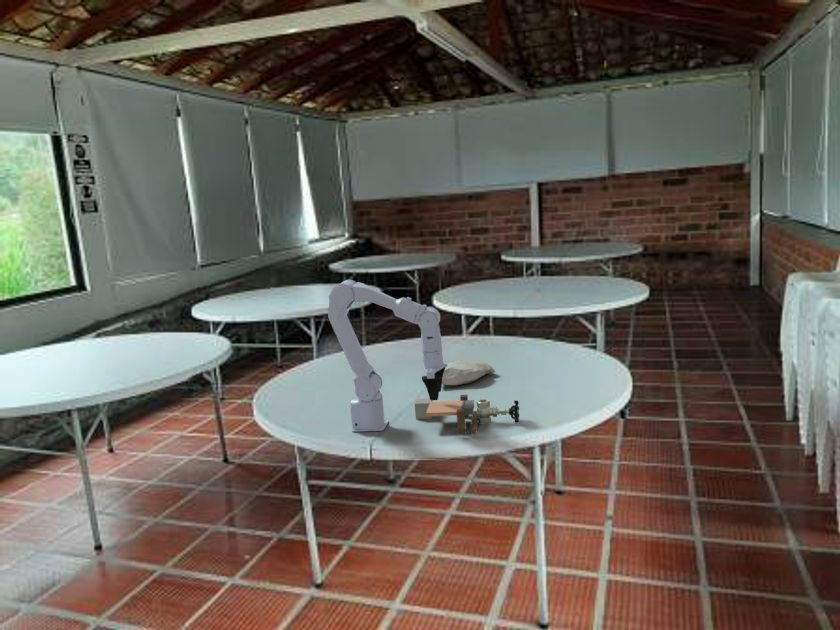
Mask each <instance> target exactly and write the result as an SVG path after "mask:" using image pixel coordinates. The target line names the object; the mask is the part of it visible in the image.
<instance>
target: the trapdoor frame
mask: <svg viewBox="0 0 840 630" xmlns="http://www.w3.org/2000/svg"><path fill="white" fill-rule="evenodd" d="M459 397H460V398H459V399H460V400H459V401H463V400H465V401H466V400H468V398H469V397H468V394H460V395H459ZM469 417H470V415H465V413H464V409H457V415H456V422H457V433H458V434H459V435H461V434H464V435H465V434H466V432H467V431H466V430H467V429H466V418H469ZM478 424H479V423H478V415H477V410H473V415H471V422H470V427H469V428H470V429H469V431H470V434H476V433H477V429H478Z"/></svg>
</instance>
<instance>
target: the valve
mask: <svg viewBox="0 0 840 630" xmlns="http://www.w3.org/2000/svg"><path fill="white" fill-rule="evenodd" d="M513 403H514V405H512V406H511V407H509V408H508V409H506V408H498V407H497V406H492V407H491V401H490V400H489V399H486V398H482V399H479V400H478V399H477V400H476V407H477V409H476V411H477V415H478V424H479V425H489V424H491V423H492V417H493V418H498V416H499V415H501V416H506V415H507V414H508V415H509V416H510V418H511V419H513V420H514V423H516V424H517V423H520V412H519V411H520V406H519V405H520V404H519V400H513Z"/></svg>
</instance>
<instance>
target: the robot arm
mask: <svg viewBox="0 0 840 630" xmlns="http://www.w3.org/2000/svg"><path fill="white" fill-rule="evenodd" d="M365 301H367V302H370V303H373V304H376V305H378V306H381V307H384V308H387V309H389V310H392V313H393V314H394V316H395V317H397V318H400V319H403V320H404V321H407V322H409V323H411V324H415V325H418V327H419V328H420V333H421V335H420V342H421V355H422V364H423V365H422V369H423V370H424V371H425V372H426V375H422V376H421V380H422V382H423V383H424V385H425V388H426V391H427V393H428V397H429V398H430V400H432V401H439V395H440V393H441V391H442V385H443V384H442V377H443V373H444V370H445V368H446V367H447V363H444V358H443V347H442V335H441V328H440V324H439V323H440V321H441V313H440V312H439V310H438V309H436V308H435V307H433V306H427V304H424V303H423V304H420V303H419V302H415V301H413V300H412V297H409V296H407V297H404V296H403V297H400V298H398V299H397V298H395V297H393V296H391V295H388V294H386V293H384V292H382V291H379V290H377V289H375V288H373V287H371V286H369V285H367V284H365V283H363V282H359V281H357V282H356V280H353V279H346V280H343V281H342V282H341V283H338V284H336V285H335V286H333V287H332V289H331V291H330V293H329V295H328V309H327V310H328V311H327V316H328V320H329V322H330V325H331V327H332V330H333V332H334V334H335V336H336V338H337V340H338V343H339V345H340V346H341V349H342V350H343V353H344V355H345V357H346V359H347V361H348V365H349V367H350V370H352V371H351V372H352V381H353V383H354V389H355V391H354V392H355V395H356V397H357V398H353V399H351V401H350V416H351V427H352V428H351V429H352V430H351V432H355V433H356V432H381V431H384V430H385V429H386V427H387V425H388V423H389V420H388V419H385V412H384V409H385V408H384V400H383V393H381V389H382V386H383V380H382V379H383V378H382V377H381V375H380V374H378V373H377V372H376V371H375V369H374V367H373V366H372V365H371V364H370V363H369V362H368V359H367V357H366V355H365V353H364V351H363V348H362V346H361V344H360V342H359V339H358V337H357V335H356V333H355V330H354V328H353V326H352V323H351V321H350V319H349V316H348V313H349V310H350V309H351V306H352V305H353V303H355V304H356V303H360V302H365Z"/></svg>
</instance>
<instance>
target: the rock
mask: <svg viewBox="0 0 840 630" xmlns="http://www.w3.org/2000/svg"><path fill="white" fill-rule="evenodd" d="M446 364H447V367H446V368H445V370H444V373H443V377H442V385H446V386H459V385H463V384H464V385H467V384H470V383H472V382H474V381H476V380H479V379H480V378H481V377H483V376H485V375H486V374H494V373H496V370H495V368H494V367H493V366H492V365H491V364H489V363H487V362H480V361H479V362H477V361H468V360H463V359H461V360H455V361H451V362H447V363H446Z"/></svg>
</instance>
